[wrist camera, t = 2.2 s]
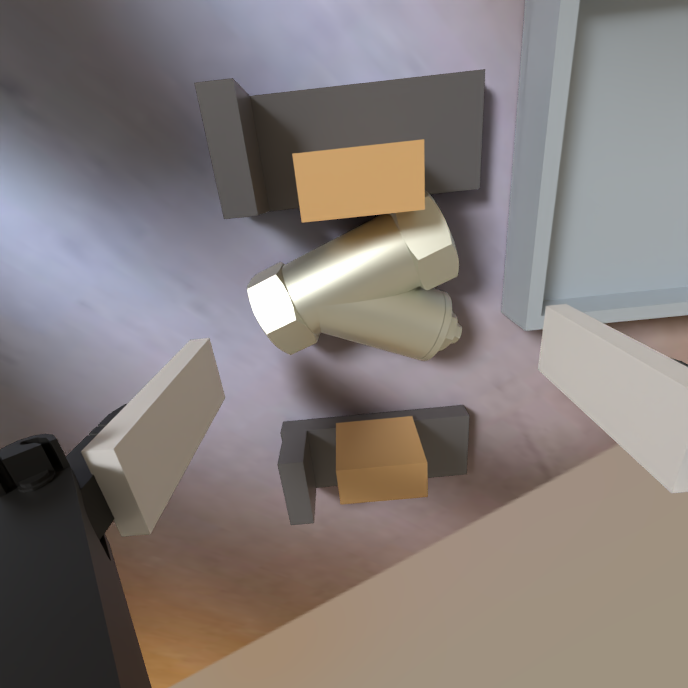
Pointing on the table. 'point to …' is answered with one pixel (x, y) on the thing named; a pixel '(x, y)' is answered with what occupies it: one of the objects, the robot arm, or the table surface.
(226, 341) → the table surface
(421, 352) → the pipe fitting
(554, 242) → the parts tray
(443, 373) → the table surface
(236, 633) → the table surface
